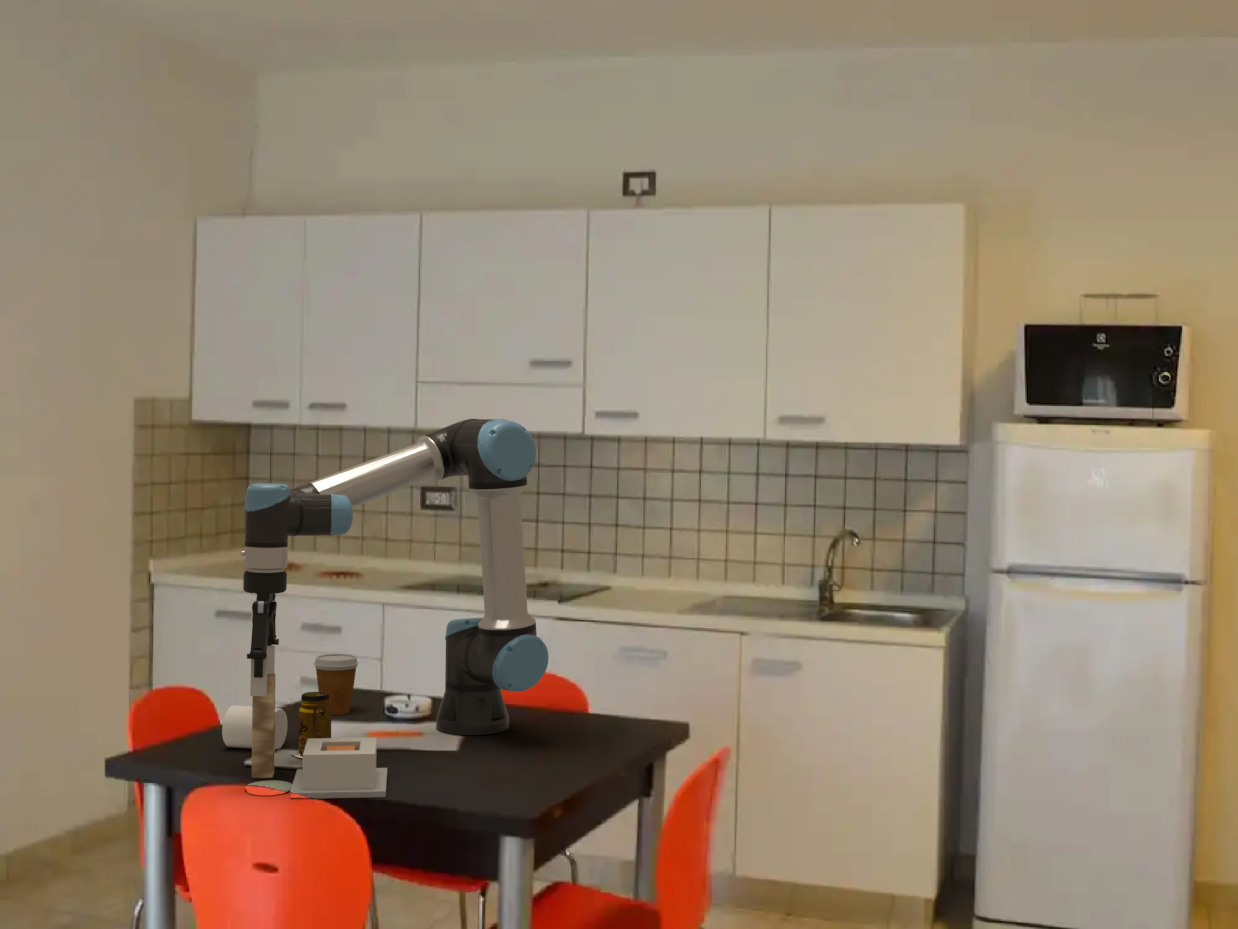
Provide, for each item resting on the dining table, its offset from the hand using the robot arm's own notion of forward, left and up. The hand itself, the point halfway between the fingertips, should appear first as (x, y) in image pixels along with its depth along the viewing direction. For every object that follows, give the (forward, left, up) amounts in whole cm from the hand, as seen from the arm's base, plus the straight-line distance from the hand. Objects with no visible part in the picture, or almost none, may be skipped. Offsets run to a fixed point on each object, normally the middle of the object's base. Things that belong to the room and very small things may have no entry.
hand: (262, 688), depth 252 cm
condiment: (-9, -14, -16) cm, 23 cm away
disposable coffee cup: (-10, -53, -16) cm, 56 cm away
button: (-14, +8, -13) cm, 21 cm away
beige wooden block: (0, 0, -16) cm, 16 cm away
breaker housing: (-14, +8, -16) cm, 23 cm away
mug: (+3, -23, -16) cm, 28 cm away
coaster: (-2, +10, -16) cm, 19 cm away
